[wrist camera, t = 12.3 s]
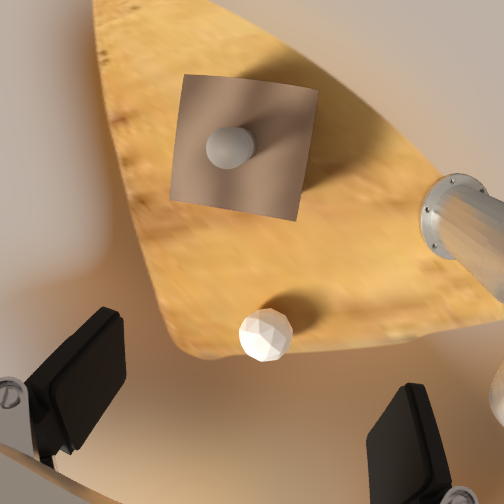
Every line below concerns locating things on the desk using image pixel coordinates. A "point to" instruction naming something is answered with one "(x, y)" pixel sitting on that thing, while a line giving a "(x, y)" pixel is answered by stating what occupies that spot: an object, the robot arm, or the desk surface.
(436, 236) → the robot arm
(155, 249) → the desk surface
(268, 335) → the geometric ball
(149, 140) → the desk surface
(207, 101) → the walnut cover
